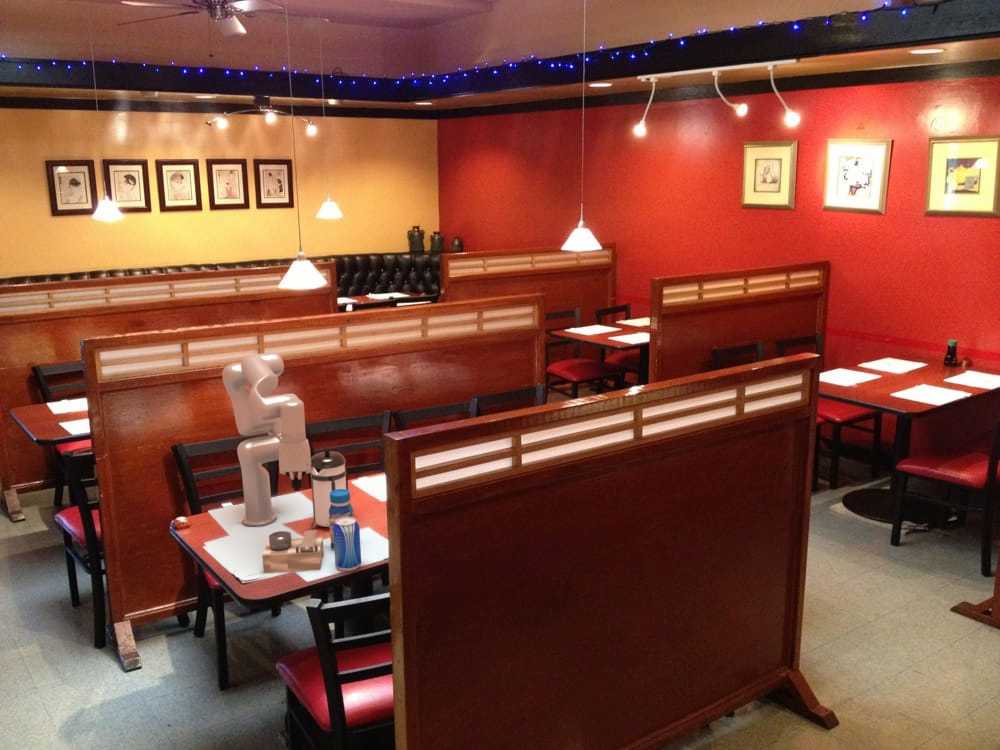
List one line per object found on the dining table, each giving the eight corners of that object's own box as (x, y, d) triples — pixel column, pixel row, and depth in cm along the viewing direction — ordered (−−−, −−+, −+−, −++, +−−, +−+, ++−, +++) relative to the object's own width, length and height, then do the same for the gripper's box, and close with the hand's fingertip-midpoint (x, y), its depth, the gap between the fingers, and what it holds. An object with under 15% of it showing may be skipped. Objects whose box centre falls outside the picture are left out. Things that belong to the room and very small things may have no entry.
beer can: (332, 563, 278) (330, 518, 274) (357, 559, 281) (355, 514, 278) (338, 574, 270) (335, 527, 267) (364, 569, 274) (361, 523, 270)
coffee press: (358, 528, 306) (354, 450, 299) (314, 536, 300) (309, 455, 293) (349, 512, 322) (344, 436, 315) (306, 518, 316) (301, 442, 309)
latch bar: (305, 533, 285) (305, 529, 285) (317, 533, 286) (317, 529, 285) (300, 552, 272) (300, 548, 272) (312, 552, 273) (312, 547, 272)
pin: (272, 558, 281) (270, 531, 279) (294, 557, 282) (292, 530, 280) (269, 567, 275) (267, 540, 272) (291, 566, 275) (289, 539, 273)
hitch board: (269, 556, 284) (268, 535, 282) (323, 553, 286) (322, 532, 284) (263, 572, 272) (261, 550, 270) (320, 569, 274) (318, 547, 272)
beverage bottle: (360, 544, 292) (357, 490, 288) (343, 553, 285) (340, 498, 281) (342, 539, 297) (339, 486, 292) (325, 548, 290) (321, 493, 285)
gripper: (268, 441, 271) (272, 494, 275) (316, 439, 273) (319, 492, 277) (272, 434, 278) (275, 486, 283) (318, 432, 280) (321, 484, 284)
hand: (297, 489), depth 280 cm, fingers closed
